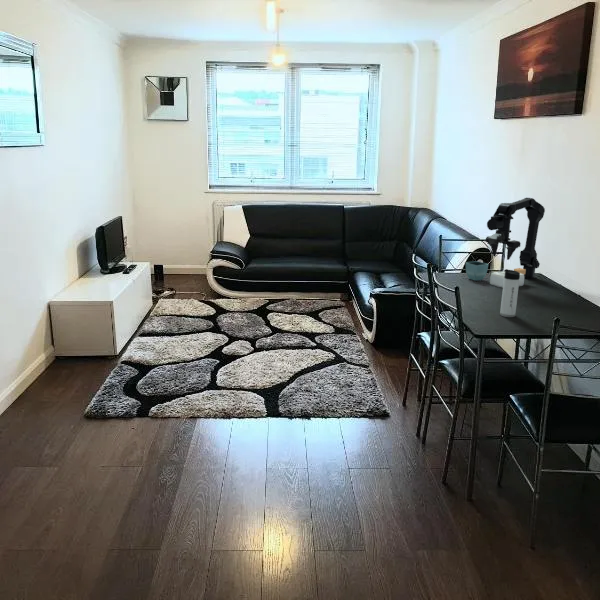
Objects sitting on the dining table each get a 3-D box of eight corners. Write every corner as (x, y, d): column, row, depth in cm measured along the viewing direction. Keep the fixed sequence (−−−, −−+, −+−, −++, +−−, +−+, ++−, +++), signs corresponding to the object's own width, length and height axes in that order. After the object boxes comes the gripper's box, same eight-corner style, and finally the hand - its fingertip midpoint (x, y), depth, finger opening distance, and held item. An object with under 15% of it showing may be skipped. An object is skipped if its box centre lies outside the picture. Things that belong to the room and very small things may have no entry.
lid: (514, 271, 329) (515, 266, 328) (529, 275, 321) (530, 270, 320) (491, 274, 320) (491, 270, 319) (505, 278, 312) (506, 274, 311)
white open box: (508, 281, 328) (509, 272, 327) (523, 285, 320) (524, 276, 319) (489, 284, 321) (490, 274, 320) (504, 288, 313) (505, 279, 312)
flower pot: (463, 278, 333) (465, 262, 330) (476, 277, 336) (477, 261, 334) (474, 282, 325) (476, 265, 323) (487, 280, 329) (489, 264, 326)
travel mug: (502, 312, 272) (507, 268, 267) (517, 315, 268) (522, 270, 263) (496, 315, 268) (501, 270, 262) (511, 318, 263) (517, 273, 258)
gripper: (479, 227, 320) (476, 256, 324) (507, 232, 304) (504, 263, 309) (494, 225, 325) (491, 254, 329) (522, 230, 310) (519, 260, 314)
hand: (501, 258), depth 320 cm, fingers open, 9 cm apart
